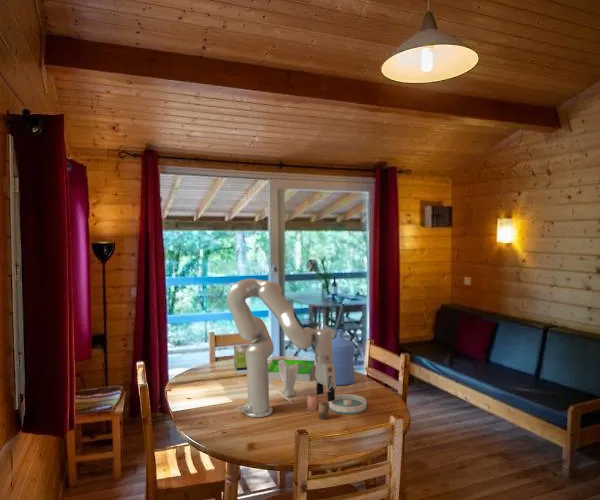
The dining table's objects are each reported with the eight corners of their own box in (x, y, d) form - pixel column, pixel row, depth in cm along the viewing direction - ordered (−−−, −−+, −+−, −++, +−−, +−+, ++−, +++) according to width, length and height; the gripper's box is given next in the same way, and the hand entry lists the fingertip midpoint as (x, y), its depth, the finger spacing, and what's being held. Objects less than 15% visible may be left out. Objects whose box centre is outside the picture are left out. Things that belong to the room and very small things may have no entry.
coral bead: (310, 411, 203) (309, 398, 203) (305, 408, 207) (305, 395, 207) (318, 409, 205) (318, 396, 205) (314, 406, 209) (313, 393, 209)
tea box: (233, 369, 269) (233, 344, 269) (250, 368, 272) (250, 343, 271) (236, 377, 255) (236, 351, 254) (254, 375, 257) (253, 349, 257)
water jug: (342, 388, 235) (342, 334, 234) (319, 381, 245) (319, 330, 244) (360, 380, 246) (360, 329, 245) (337, 375, 257) (337, 326, 256)
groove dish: (341, 417, 197) (341, 410, 197) (321, 404, 212) (321, 397, 212) (373, 410, 204) (373, 403, 204) (352, 398, 220) (352, 392, 220)
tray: (273, 367, 274) (273, 359, 274) (314, 369, 271) (314, 360, 271) (264, 380, 249) (264, 371, 249) (309, 382, 246) (309, 373, 246)
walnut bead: (321, 420, 194) (321, 406, 193) (317, 416, 197) (316, 403, 197) (330, 418, 196) (330, 404, 195) (325, 415, 199) (325, 401, 199)
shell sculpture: (300, 395, 224) (300, 359, 224) (288, 399, 218) (288, 362, 218) (288, 391, 230) (288, 356, 230) (276, 395, 224) (276, 359, 224)
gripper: (341, 361, 190) (343, 401, 190) (321, 352, 205) (323, 390, 205) (326, 364, 186) (328, 405, 187) (307, 355, 202) (308, 393, 202)
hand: (325, 397), depth 196 cm, fingers open, 9 cm apart
